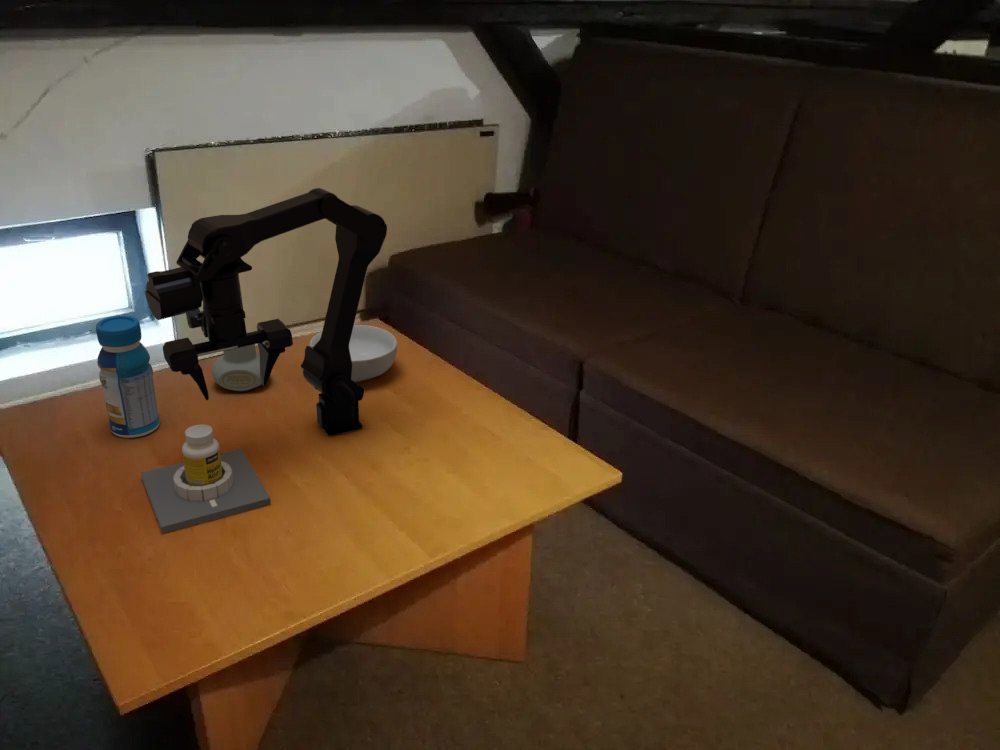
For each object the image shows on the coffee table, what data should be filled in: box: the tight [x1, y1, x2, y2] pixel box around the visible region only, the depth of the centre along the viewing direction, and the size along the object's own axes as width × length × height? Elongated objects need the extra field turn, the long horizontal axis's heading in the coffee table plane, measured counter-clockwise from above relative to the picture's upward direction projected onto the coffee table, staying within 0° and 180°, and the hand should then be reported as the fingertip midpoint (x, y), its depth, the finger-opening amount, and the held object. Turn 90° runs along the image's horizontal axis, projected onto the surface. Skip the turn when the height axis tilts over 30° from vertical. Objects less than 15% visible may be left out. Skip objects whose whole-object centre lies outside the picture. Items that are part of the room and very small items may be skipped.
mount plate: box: [140, 448, 272, 535], centre depth 135 cm, size 16×16×3 cm
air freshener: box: [211, 331, 262, 392], centre depth 166 cm, size 11×8×10 cm
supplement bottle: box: [181, 424, 223, 486], centre depth 133 cm, size 5×5×10 cm
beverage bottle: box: [95, 315, 161, 439], centre depth 148 cm, size 8×8×20 cm
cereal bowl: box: [309, 324, 398, 383], centre depth 172 cm, size 17×17×7 cm
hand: (235, 392), depth 139 cm, fingers open, 9 cm apart
